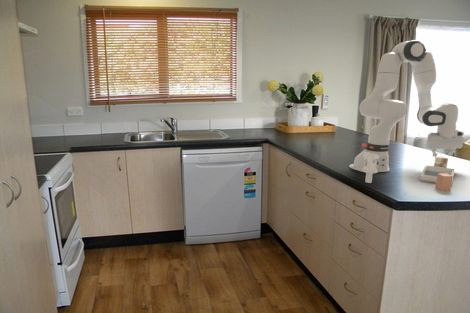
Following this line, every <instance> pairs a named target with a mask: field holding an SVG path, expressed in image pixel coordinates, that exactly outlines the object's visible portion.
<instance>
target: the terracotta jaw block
mask: <svg viewBox="0 0 470 313" xmlns="http://www.w3.org/2000/svg"><path fill="white" fill-rule="evenodd" d="M452 178H453V179H454V175H453V176H451V175H449V174H447V173H438V174H437V180H436V183H435V186H434V187H435V188H436V189H437V190H440V191H451V188H452V186H451V184H452V185H453V182H452Z"/></svg>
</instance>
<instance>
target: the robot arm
mask: <svg viewBox="0 0 470 313" xmlns="http://www.w3.org/2000/svg"><path fill="white" fill-rule="evenodd" d="M403 63H409V64H410V65H411V67H412V76H413V80H414V84H415V87H416V89H417V90H416V91H417V96H418V109H417V113H416V117H417V118H416V119H417V120H418V121H419V123H421V124H424V125H425V126H427V127H437V130H436V132H430V133H429V134H428V135H427V139H426V142H425V148H426V149H428V150H431V152H432V157H438V153H437V152H436V151H437V150H441V149H442V150H446V149H450V150H449V152H448V154H447V155H448V156H449V157H453V153H455V151H456V149H462V147H463V146H464V137H463V136H464V135H465V133H464V132H463V131H461V130H458V129H457V122H458V119H459V118H458V117H459V107H458V106H457V105H456V104H453V103H449V102H443V103H442V104H440V105H437V106H435V107H434V106H433V105H432V95H431V92H432V87H433V86H434V84H435V83H436V82H437V69H436V64H435V60H434V57H433V54H432V52H431V51H429V50H427V49H426V47H425V45H424V43H423V42H422V41H421V40H419V39H418V40H417V39H413V40H406V41H403V42H400V43H397V44H395V45H394V46H392V48H391V49H390V51H389V52H386V53H384V54H383V55H382V56H381V59H380V61H379V65H378V68H377V74H376V80H375V83H374V87H373V90H372V91H371V93H370V94H369V95H368V96H367V97H365V98H364V99H363V100H362V101H361V102H360V104H359V107H358V108H359V109H358V110H359V113H360V115H361V116H364V117H366V118H370V119H378V120H379V123H378V124H376V125H374V126H372V127H371V128H370V129H369V131H368V139H367V140H368V141H367V142H366V143H362V144H361V146H362V148H364V150H362V151H361V152H360V153H359V154H357V155H356V156H355V158H354V161H353V163H352V164H349V165H348V166H349V168H350V169H352V170H355V171H358V172H362V173H364V172H363V171H362V168H364V164H365V160H364V159H363V158H364V152H369V153H371V154H377V155H379V158H378V159H376V160H377V165H376V169H377V170H378V171H377V173H382V172H383V173H385V172H390V167H389V164H390V163H389V162H390V160H389V156H390V155H389V152H390V146H391V145H390V139H391V133H392V130H393V128H394V127H395V125H396V124H397V123H399V122H400V121H401V120H403V119H404V118H406V116H407V114H408V106H407V104H406V102H404V101H401V100H397V99H388V98H386V97H387V95H388V94H390V93H393V92H394V91H396V89H397V87H398V82H399V78H400V72H401V71H400V70H401V66H402V65H403ZM367 156H368V155H367Z"/></svg>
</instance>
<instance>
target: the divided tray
mask: <svg viewBox="0 0 470 313" xmlns="http://www.w3.org/2000/svg"><path fill="white" fill-rule="evenodd" d="M438 173H447V174H449V175H451V176H453V178H452V184H451V187H452V186H453V181H454V174H455V169H454V168H448V167H447V168H443V167H436V166H434V165H429V164H428V165H427V164H426V165H424V167H423V169H422V172H421V174H420V178H419V181H420V182H424V183H430V184H436V180H437V174H438Z"/></svg>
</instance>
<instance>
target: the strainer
mask: <svg viewBox="0 0 470 313" xmlns="http://www.w3.org/2000/svg"><path fill="white" fill-rule="evenodd" d="M367 155H368V156H367ZM378 158H379V155H377V154H371V153H369V152H364V158H363V159H364V160H365V164H364V168H362V171H363V172H362V173H365V183H368V184H372V181H373V175H374V174H378V172H377V171H378V170H377V169H376V165H377V160H376V159H378Z"/></svg>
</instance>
